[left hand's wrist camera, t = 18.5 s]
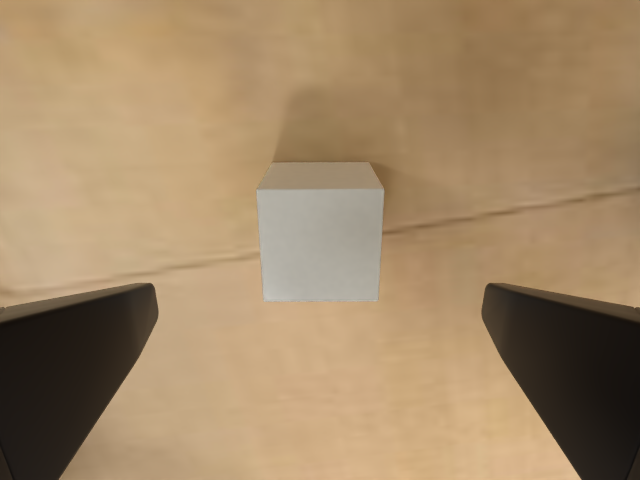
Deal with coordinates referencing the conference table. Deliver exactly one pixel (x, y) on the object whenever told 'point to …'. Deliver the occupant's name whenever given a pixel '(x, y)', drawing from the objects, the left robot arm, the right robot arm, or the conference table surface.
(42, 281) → the conference table surface
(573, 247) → the conference table surface
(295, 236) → the block
